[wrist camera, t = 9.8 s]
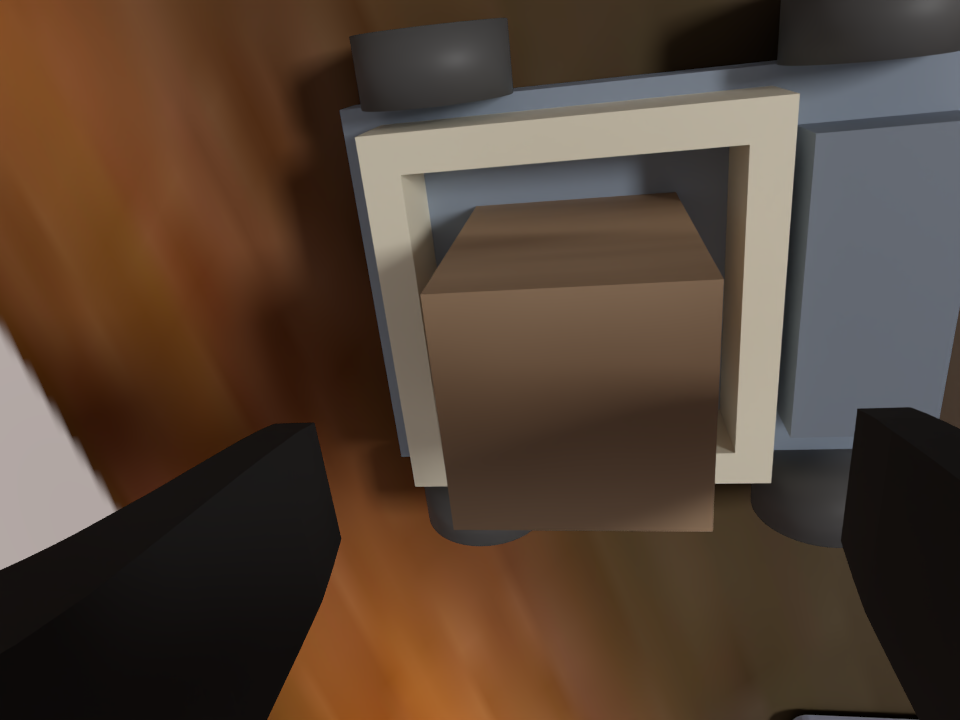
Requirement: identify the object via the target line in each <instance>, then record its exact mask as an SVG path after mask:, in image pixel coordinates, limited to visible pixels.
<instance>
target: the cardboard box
mask: <svg viewBox="0 0 960 720" xmlns="http://www.w3.org/2000/svg"><path fill="white" fill-rule="evenodd" d="M723 288H724V279H723V277H722V275H721V273H720V271H719V270H718V268H717V266H716V264H715V262H714V260H713V259H712V257H711V255H710V253H709V251H708V250H707V248H706V246H705V244H704V242H703V241H702V239H701V237H700V235H699V233H698V232H697V230H696V228H695V226H694V224H693V222H692V221H691V219H690V217H689V215H688V213H687V212H686V210H685V208H684V206H683V204H682V203H681V201H680V199H679V197H678V195H677V193H676V192H669V193H655V194H641V195H627V196H613V197H599V198H585V199H570V200H556V201H542V202H528V203H514V204H500V205H486V206H476V208H475V209H474V211H473V212H472V214H471V215H470V217H469V219H468V220H467V222H466V223H465V225H464V227H463V228H462V230H461V231H460V233H459V234H458V236H457V238H456V239H455V241H454V242H453V244H452V245H451V247H450V249H449V250H448V252H447V253H446V255H445V257H444V258H443V260H442V261H441V263H440V264H439V266H438V268H437V269H436V271H435V272H434V274H433V275H432V277H431V279H430V280H429V282H428V283H427V285H426V287H425V288H424V290H423V291H422V293H421V294H420V295H421V302H422V309H423V316H424V323H425V331H426V338H427V345H428V352H429V359H430V366H431V373H432V380H433V387H434V394H435V401H436V408H437V415H438V422H439V429H440V436H441V443H442V450H443V457H444V464H445V471H446V479H447V486H448V493H449V500H450V507H451V514H452V521H453V528H454V530H552V531H702V532H713V514H714V492H715V469H716V446H717V424H718V401H719V379H720V356H721V333H722V311H723Z"/></svg>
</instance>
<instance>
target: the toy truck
mask: <svg viewBox="0 0 960 720" xmlns="http://www.w3.org/2000/svg"><path fill="white" fill-rule="evenodd" d="M349 38H350V44H351V50H352V56H353V62H354V68H355V74H356V80H357V86H358V92H359V98H360V105H354V106H351V107H347V108H344V109H341V110H340V116H341V121H342V127H343V132H344V138H345V144H346V149H347V155H348V160H349V166H350V171H351V177H352V183H353V188H354V194H355V199H356V205H357V211H358V216H359V222H360V227H361V233H362V239H363V244H364V250H365V255H366V261H367V267H368V272H369V278H370V283H371V289H372V294H373V300H374V306H375V311H376V317H377V322H378V328H379V334H380V339H381V345H382V350H383V356H384V362H385V367H386V373H387V378H388V384H389V390H390V395H391V401H392V406H393V412H394V417H395V423H396V429H397V434H398V440H399V445H400V451H401V457H410V459H411V465H412V471H413V476H414V482H415V487H424V488H425V494H426V500H427V506H428V512H429V518H430V522H431V524H432V526H433V528H434V529H435V530H436V531H437V532H438V533H439V534H440V535H441V536H443V537H444V538H446V539H448V540H450V541H453V542H456V543H459V544H463V545H470V546H491V545H498V544H503V543H507V542H510V541H513V540H515V539H518V538H520V537H522V536H524V535H526V534H527V533H529V532H530V531H532V530H454V528H453V521H452V514H451V507H450V500H449V493H448V486H447V479H446V471H445V464H444V457H443V450H442V443H441V436H440V429H439V422H438V415H437V408H436V401H435V394H434V387H433V380H432V373H431V366H430V359H429V352H428V345H427V338H426V331H425V323H424V316H423V309H422V302H421V295H420V294H421V293H422V291H423V290H424V288H425V287H426V285H427V283H428V282H429V280H430V279H431V277H432V275H433V274H434V272H435V271H436V269H437V268H438V266H439V264H440V263H441V261H442V260H443V258H444V257H445V255H446V253H447V252H448V250H449V249H450V247H451V245H452V244H453V242H454V241H455V239H456V238H457V236H458V234H459V233H460V231H461V230H462V228H463V227H464V225H465V223H466V222H467V220H468V219H469V217H470V215H471V214H472V212H473V211H474V209H475V208H476V206H486V205H500V204H514V203H528V202H542V201H556V200H570V199H585V198H599V197H613V196H627V195H641V194H655V193H669V192H676V193H677V195H678V197H679V199H680V201H681V203H682V204H683V206H684V208H685V210H686V212H687V213H688V215H689V217H690V219H691V221H692V222H693V224H694V226H695V228H696V230H697V232H698V233H699V235H700V237H701V239H702V241H703V242H704V244H705V246H706V248H707V250H708V251H709V253H710V255H711V257H712V259H713V260H714V262H715V264H716V266H717V268H718V270H719V271H720V273H721V275H722V277H723V279H724V288H723V311H722V333H721V356H720V379H719V401H718V424H717V446H716V469H715V484H733V483H752V484H751V504H752V507H753V509H754V511H755V513H756V514H757V516H758V517H759V518H760V519H761V520H762V521H763V522H764V523H765V524H766V525H768V526H769V527H771V528H772V529H773V530H775V531H777V532H779V533H780V534H782V535H785V536H787V537H789V538H791V539H794V540H797V541H800V542H804V543H807V544H811V545H816V546H823V547H833V548H843V546H842V543H841V534H842V526H843V519H844V511H845V503H846V495H847V487H848V479H849V471H850V463H851V455H852V447H853V439H854V432H855V424H856V416H857V409H859V408H897V407H912V408H914V409H917V410H919V411H922V412H924V413H927V414H929V415H931V416H934V417H936V418H938V419H939V417H940V411H941V406H942V400H943V395H944V389H945V384H946V378H947V373H948V367H949V362H950V357H951V351H952V346H953V340H954V335H955V329H956V324H957V318H958V313H959V307H960V0H781V5H780V22H779V38H778V55H777V60H774V61H765V62H755V63H746V64H737V65H727V66H718V67H708V68H699V69H689V70H680V71H671V72H661V73H652V74H642V75H633V76H624V77H614V78H605V79H595V80H586V81H576V82H567V83H558V84H548V85H539V86H529V87H520V88H513V82H512V70H511V58H510V46H509V34H508V21H507V18H495V19H483V20H472V21H462V22H453V23H444V24H435V25H426V26H418V27H410V28H402V29H394V30H386V31H379V32H372V33H366V34H359V35H354V36H350V37H349Z"/></svg>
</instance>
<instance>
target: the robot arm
mask: <svg viewBox="0 0 960 720" xmlns="http://www.w3.org/2000/svg"><path fill="white" fill-rule="evenodd" d="M340 541H341V535H340V531H339V527H338V522H337V518H336V514H335V509H334V505H333V501H332V496H331V492H330V488H329V484H328V479H327V475H326V471H325V466H324V462H323V458H322V453H321V449H320V445H319V440H318V436H317V432H316V427H315V423H283V424H273V425H271V426H268V427H266V428H264V429H261V430H259V431H257V432H255V433H253V434H251V435H249V436H248V437H246V438H244V439H242V440H240V441H238V442H237V443H235V444H233V445H231V446H229V447H228V448H226V449H224V450H222V451H221V452H219V453H217V454H216V455H214V456H212V457H210V458H209V459H207V460H205V461H204V462H202V463H200V464H198V465H197V466H195V467H193V468H192V469H190V470H188V471H187V472H185V473H183V474H181V475H180V476H178V477H176V478H175V479H173V480H171V481H169V482H168V483H166V484H164V485H163V486H161V487H159V488H158V489H156V490H154V491H152V492H151V493H149V494H147V495H145V496H144V497H142V498H140V499H138V500H136V501H134V502H133V503H131V504H129V505H127V506H125V507H123V508H122V509H120V510H118V511H116V512H114V513H113V514H111V515H109V516H107V517H105V518H104V519H102V520H100V521H98V522H96V523H94V524H92V525H91V526H89V527H87V528H85V529H83V530H81V531H80V532H78V533H76V534H74V535H72V536H70V537H68V538H67V539H64V540H63V541H61V542H58V543H57V544H55V545H53V546H51V547H49V548H47V549H44V550H42V551H40V552H38V553H36V554H34V555H32V556H30V557H28V558H26V559H24V560H22V561H19V562H18V563H15V564H13V565H11V566H9V567H6V568H4V569H2V570H0V720H267V718H268V716H269V714H270V712H271V710H272V708H273V706H274V704H275V702H276V699H277V697H278V695H279V693H280V691H281V689H282V687H283V685H284V683H285V680H286V678H287V676H288V674H289V672H290V670H291V668H292V666H293V664H294V661H295V659H296V657H297V655H298V653H299V651H300V649H301V647H302V644H303V642H304V640H305V638H306V636H307V634H308V631H309V629H310V627H311V625H312V623H313V621H314V618H315V616H316V614H317V612H318V609H319V607H320V605H321V603H322V600H323V597H324V594H325V591H326V588H327V585H328V582H329V579H330V576H331V573H332V569H333V566H334V562H335V559H336V555H337V552H338V548H339V545H340ZM841 543H842V546H843V549H844V552H845V555H846V558H847V561H848V564H849V567H850V570H851V574H852V577H853V580H854V582H855V585H856V588H857V591H858V594H859V596H860V599H861V602H862V605H863V607H864V610H865V613H866V615H867V617H868V619H869V621H870V623H871V625H872V627H873V629H874V631H875V633H876V635H877V637H878V639H879V641H880V643H881V645H882V647H883V649H884V651H885V653H886V655H887V657H888V659H889V661H890V663H891V665H892V667H893V669H894V671H895V673H896V675H897V677H898V679H899V681H900V683H901V685H902V687H903V689H904V691H905V693H906V695H907V697H908V699H909V701H910V703H911V705H912V707H913V709H914V711H915V713H916V715H917V717H918V719H897V718H873V717H850V716H826V715H801V716H798V717H796V718H795V719H793V720H960V429H959V428H957V427H955V426H953V425H951V424H948V423H946V422H944V421H942V420H940V419H938V418H936V417H934V416H931V415H929V414H927V413H924V412H922V411H919V410H917V409H914V408H912V407H897V408H859V409H857V416H856V424H855V432H854V439H853V447H852V455H851V463H850V471H849V479H848V487H847V495H846V503H845V511H844V519H843V526H842V534H841Z"/></svg>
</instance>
